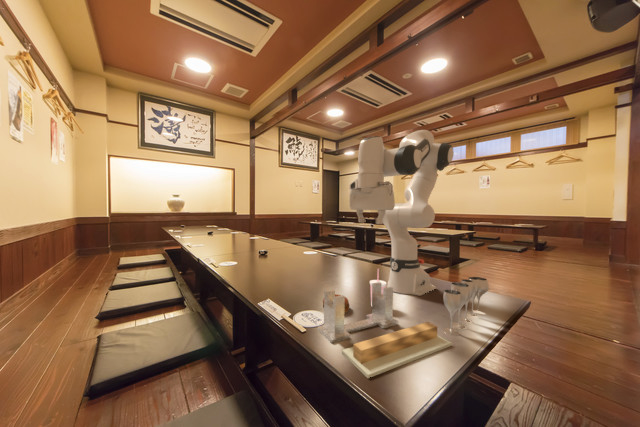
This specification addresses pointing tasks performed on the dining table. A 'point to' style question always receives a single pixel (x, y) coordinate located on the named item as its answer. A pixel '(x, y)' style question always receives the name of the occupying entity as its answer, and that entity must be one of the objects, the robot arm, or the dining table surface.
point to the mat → (397, 356)
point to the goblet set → (463, 298)
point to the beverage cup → (383, 283)
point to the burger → (346, 306)
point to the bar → (393, 342)
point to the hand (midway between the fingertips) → (369, 223)
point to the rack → (339, 331)
